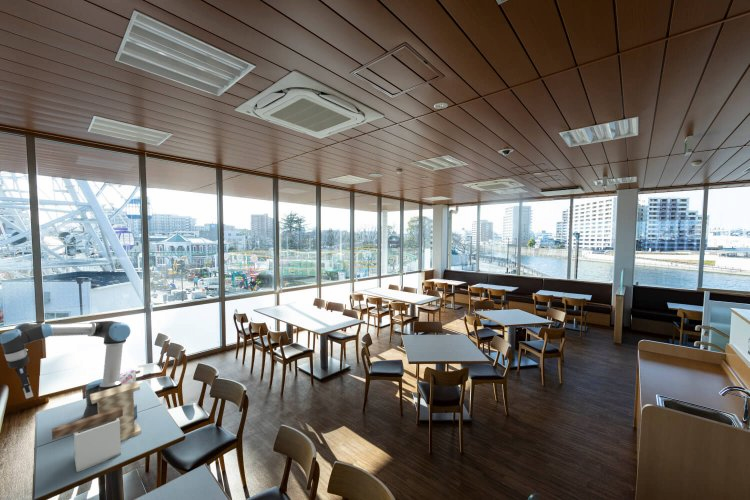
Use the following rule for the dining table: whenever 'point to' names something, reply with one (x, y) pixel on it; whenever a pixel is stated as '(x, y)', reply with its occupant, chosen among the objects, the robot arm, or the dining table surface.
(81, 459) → the white open box
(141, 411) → the dining table surface
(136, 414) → the flask
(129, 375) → the candy box
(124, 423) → the birch pedestal
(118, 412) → the walnut block
